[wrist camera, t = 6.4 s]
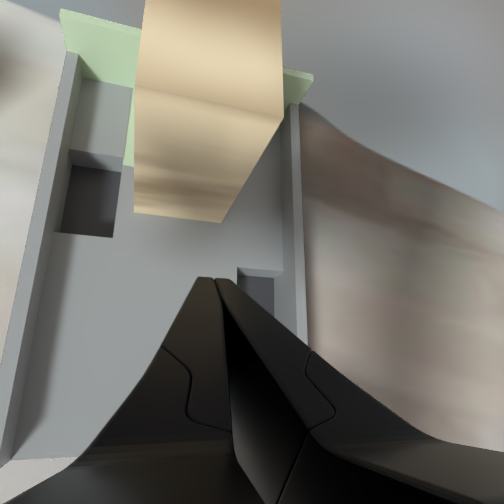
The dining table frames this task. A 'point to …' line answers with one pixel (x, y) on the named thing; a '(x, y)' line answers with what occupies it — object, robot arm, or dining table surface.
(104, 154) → the lane
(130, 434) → the robot arm
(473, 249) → the dining table surface
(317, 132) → the dining table surface
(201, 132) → the block
